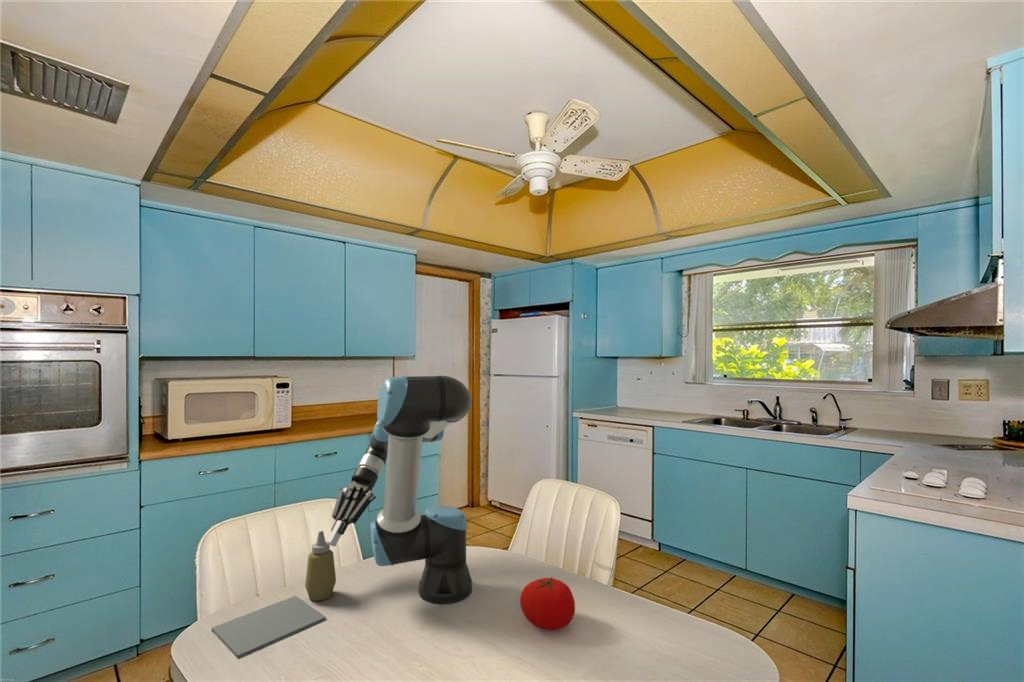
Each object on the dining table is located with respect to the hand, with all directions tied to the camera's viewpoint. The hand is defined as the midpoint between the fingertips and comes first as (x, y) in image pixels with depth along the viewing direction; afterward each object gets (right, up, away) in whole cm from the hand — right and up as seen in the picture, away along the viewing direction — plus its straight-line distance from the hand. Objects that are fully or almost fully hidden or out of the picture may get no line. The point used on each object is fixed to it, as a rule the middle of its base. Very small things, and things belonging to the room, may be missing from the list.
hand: (331, 544), depth 143 cm
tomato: (+61, -13, -17) cm, 65 cm away
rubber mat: (-9, -13, -18) cm, 24 cm away
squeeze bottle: (-1, -13, -4) cm, 14 cm away
